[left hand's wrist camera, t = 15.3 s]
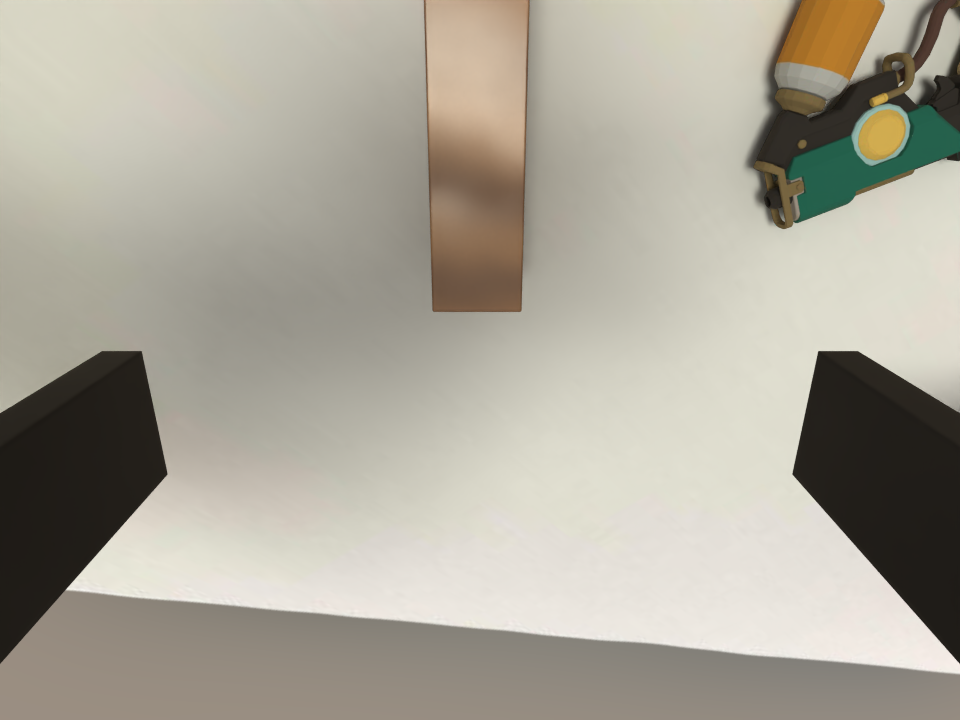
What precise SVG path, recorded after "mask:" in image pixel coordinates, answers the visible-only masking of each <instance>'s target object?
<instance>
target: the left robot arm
mask: <svg viewBox="0 0 960 720" xmlns="http://www.w3.org/2000/svg"><path fill="white" fill-rule="evenodd" d="M166 476H167V469H166V464H165V460H164V455H163V450H162V445H161V441H160V436H159V431H158V426H157V422H156V417H155V412H154V408H153V403H152V398H151V393H150V389H149V384H148V379H147V374H146V370H145V365H144V360H143V356H142V351H102V352H100V353H98V354H97V355H95V356H94V357H92V358H90V359H89V360H87V361H85V362H84V363H82V364H80V365H79V366H77V367H75V368H74V369H72V370H71V371H69V372H67V373H66V374H64V375H62V376H61V377H59V378H57V379H56V380H54V381H53V382H51V383H49V384H48V385H46V386H44V387H43V388H41V389H39V390H38V391H36V392H34V393H33V394H31V395H30V396H28V397H26V398H25V399H23V400H21V401H20V402H18V403H16V404H15V405H13V406H12V407H10V408H8V409H7V410H5V411H3V412H2V413H0V663H1V662H2V661H3V660H4V659H5V658H6V657H7V655H8V654H9V653H10V652H11V651H12V650H13V649H14V647H15V646H16V645H17V644H18V643H19V642H20V641H21V640H22V638H23V637H24V636H25V635H26V634H27V633H28V632H29V631H30V629H31V628H32V627H33V626H34V625H35V624H36V623H37V622H38V620H39V619H40V618H41V617H42V616H43V615H44V614H45V612H46V611H47V610H48V609H49V608H50V607H51V606H52V605H53V603H54V602H55V601H56V600H57V599H58V598H59V597H60V595H61V594H62V593H63V592H64V591H65V590H66V589H67V588H68V586H69V585H70V584H71V583H72V582H73V581H74V580H75V579H76V577H77V576H78V575H79V574H80V573H81V572H82V571H83V569H84V568H85V567H86V566H87V565H88V564H89V563H90V562H91V560H92V559H93V558H94V557H95V556H96V555H97V554H98V552H99V551H100V550H101V549H102V548H103V547H104V546H105V545H106V543H107V542H108V541H109V540H110V539H111V538H112V537H113V536H114V534H115V533H116V532H117V531H118V530H119V529H120V528H121V526H122V525H123V524H124V523H125V522H126V521H127V520H128V519H129V517H130V516H131V515H132V514H133V513H134V512H135V511H136V509H137V508H138V507H139V506H140V505H141V504H142V503H143V502H144V500H145V499H146V498H147V497H148V496H149V495H150V494H151V493H152V491H153V490H154V489H155V488H156V487H157V486H158V485H159V483H160V482H161V481H162V480H163V479H164V478H165V477H166ZM793 476H794V477H795V478H796V479H797V480H798V481H799V482H800V483H801V485H802V486H803V487H804V488H805V489H806V490H807V491H808V493H809V494H810V495H811V496H812V497H813V498H814V499H815V500H816V502H817V503H818V504H819V505H820V506H821V507H822V508H823V510H824V511H825V512H826V513H827V514H828V515H829V516H830V517H831V519H832V520H833V521H834V522H835V523H836V524H837V525H838V526H839V528H840V529H841V530H842V531H843V532H844V533H845V534H846V536H847V537H848V538H849V539H850V540H851V541H852V542H853V543H854V545H855V546H856V547H857V548H858V549H859V550H860V551H861V552H862V554H863V555H864V556H865V557H866V558H867V559H868V560H869V562H870V563H871V564H872V565H873V566H874V567H875V568H876V569H877V571H878V572H879V573H880V574H881V575H882V576H883V577H884V579H885V580H886V581H887V582H888V583H889V584H890V585H891V586H892V588H893V589H894V590H895V591H896V592H897V593H898V594H899V595H900V597H901V598H902V599H903V600H904V601H905V602H906V603H907V605H908V606H909V607H910V608H911V609H912V610H913V611H914V612H915V614H916V615H917V616H918V617H919V618H920V619H921V620H922V622H923V623H924V624H925V625H926V626H927V627H928V628H929V629H930V631H931V632H932V633H933V634H934V635H935V636H936V637H937V638H938V640H939V641H940V642H941V643H942V644H943V645H944V646H945V648H946V649H947V650H948V651H949V652H950V653H951V654H952V655H953V657H954V658H955V659H956V660H957V661H958V662H959V663H960V413H958V412H957V411H955V410H953V409H952V408H950V407H948V406H947V405H945V404H944V403H942V402H940V401H939V400H937V399H935V398H934V397H932V396H930V395H929V394H927V393H926V392H924V391H922V390H921V389H919V388H917V387H916V386H914V385H912V384H911V383H909V382H907V381H906V380H904V379H903V378H901V377H899V376H898V375H896V374H894V373H893V372H891V371H889V370H888V369H886V368H885V367H883V366H881V365H880V364H878V363H876V362H875V361H873V360H871V359H870V358H868V357H866V356H865V355H863V354H862V353H860V352H858V351H818V356H817V360H816V365H815V370H814V374H813V379H812V384H811V389H810V393H809V398H808V403H807V408H806V412H805V417H804V422H803V426H802V431H801V436H800V441H799V445H798V450H797V455H796V460H795V464H794V469H793Z"/></svg>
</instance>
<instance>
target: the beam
mask: <svg viewBox="0 0 960 720" xmlns="http://www.w3.org/2000/svg"><path fill="white" fill-rule="evenodd" d="M529 1H530V0H424V21H425V56H426V92H427V128H428V163H429V199H430V235H431V271H432V306H433V311H434V312H520V311H521V308H522V269H523V231H524V192H525V154H526V116H527V77H528V39H529Z"/></svg>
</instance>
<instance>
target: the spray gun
mask: <svg viewBox="0 0 960 720" xmlns="http://www.w3.org/2000/svg"><path fill="white" fill-rule="evenodd" d="M958 6H960V0H940V1H939V2H938V3H937V5H936V6H935V7H934V9H933V11H932V13H931V15H930V19H929V22H928V25H927V29H926V32H925V35H924V37H923V40H922V42H921V45H920V47H919V49H918V51H917V52H916V54H915V56H914V57H913V59H912V57H911V55H910V54H909V53H899V52H898V53H894V54H890V55H887V56H886V57H885V58H884V61H883V65H882V70H883V73H880V74H878V75H876V76H873V77H871V78H868V79H866V80H863V81H861V82H858V83H856V84H853V85H851V86H850V87H849V88H848V89H847V91H846V92H845V93H844V95H843V96H842V97H841V99H840V100H839V101H838V103H837V104H836V105H835V106H834V108H833V109H832V110H830V111H828V112H825V113H823V114H820V115H818V116H816V117H813V118H811V119H808V118H807V116H806V115H808V114H811V113H815V112H820V111H822V110H823V108H824V106H825V104H826V101H827V100H829V99H831V98H833V97H835V96H837V95H839V94H840V93H841V92H842V91H843V89H844V88H845V87H846V86H847V84H848V83H849V81H850V79H851V77H852V75H853V73H854V70H855V68H856V66H857V64H858V62H859V60H860V58H861V56H862V54H863V52H864V50H865V48H866V46H867V44H868V42H869V39H870V37H871V35H872V33H873V31H874V29H875V27H876V25H877V23H878V21H879V19H880V17H881V15H882V13H883V10H884V7H885V2H884V0H802V2H801V4H800V7H799V9H798V12H797V14H796V17H795V19H794V21H793V24H792V26H791V29H790V31H789V34H788V36H787V39H786V41H785V43H784V46H783V48H782V51H781V53H780V56H779V58H778V61H777V63H776V68H775V75H774V77H775V80H776V82H777V84H778V87H779V90H778V91H777V93H776V95H775V99H776V101H777V102H778V103H779V104H780V105H781V106H782V109H783V110H782V112H781V113H780V114H779V115H778V117H777V118H776V121H775V123H774V125H773V127H772V129H771V131H770V133H769V135H768V137H767V139H766V141H765V143H764V145H763V147H762V149H761V151H760V153H759V155H758V157H757V160H758V161H756V162H755V165H754V167H753V168H755V169H757V170H759V171H762V172H764V175H765V180H766V186H767V191H768V192H767V193H766V195H765V197H764V201H765V204H766V206H767V207H768V208H771V213H772V218H773V221H774V223H775V225H776V226H778V227H779V228H782V229H786V228H789V227H792V225H793V222H795V223H799V222H802V221H804V220H807V219H809V218H812V217H815V216H817V215H820V214H822V213H825V212H828V211H830V210H833V209H836V208H838V207H841V206H843V205H846V204H848V203H849V202H851V201H852V200H853V198H854V197H855V196H856V195H859V194H861V193H864V192H867V191H869V190H872V189H874V188H877V187H880V186H882V185H885V184H887V183H890V182H893V181H895V180H898V179H901V178H903V177H906V176H908V175H911V174H913V172H914V170H915V169H918V168H920V167H923V166H925V165H928V164H931V163H933V162H936V161H939V160H941V159H944V158H946V157H947V160H953V161H960V62H959V65H958V68H957V75H952V76H950V77H944V76H940V75H937V76H936V77H935V79H934V82H935V83H936V85H937V90H936V92H935V94H934V95H933V97H932V98H931V100H930V101H929V102H928V103H927V105H916V104H915V103H914V102H913V101H912V100H911V99H910V98H909V97H908V96H907V95H906V94H905V93H904V92H906V91H907V90H909V88H910V87H911V86H912V84H913V81H914V76H915V72H916V71H918V70H919V69H920V68H921V67H922V65H923V64H924V62H925V61H926V60H927V58H928V57H929V55H930V53H931V51H932V49H933V47H934V44H935V42H936V40H937V38H938V35H939V32H940V29H941V25H942V22H943V19H944V16H945V14H946V12H947V10H948V9H949V8H956V7H958ZM895 61H900V62H902V63H903V64H904V67H903V68H902V69H900V70H898V71H895V70H892V62H895ZM902 81H904V83H903V84H902V85H901V86H900V87H898V84H899V83H900V82H902ZM775 165H776V166H775ZM772 174H775V177H778V180H776V181H774V182H773V177H772ZM781 207H783V211H784V217H785V222H784V221H782V219H781V218H780V215H779V210H778V208H781Z"/></svg>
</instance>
